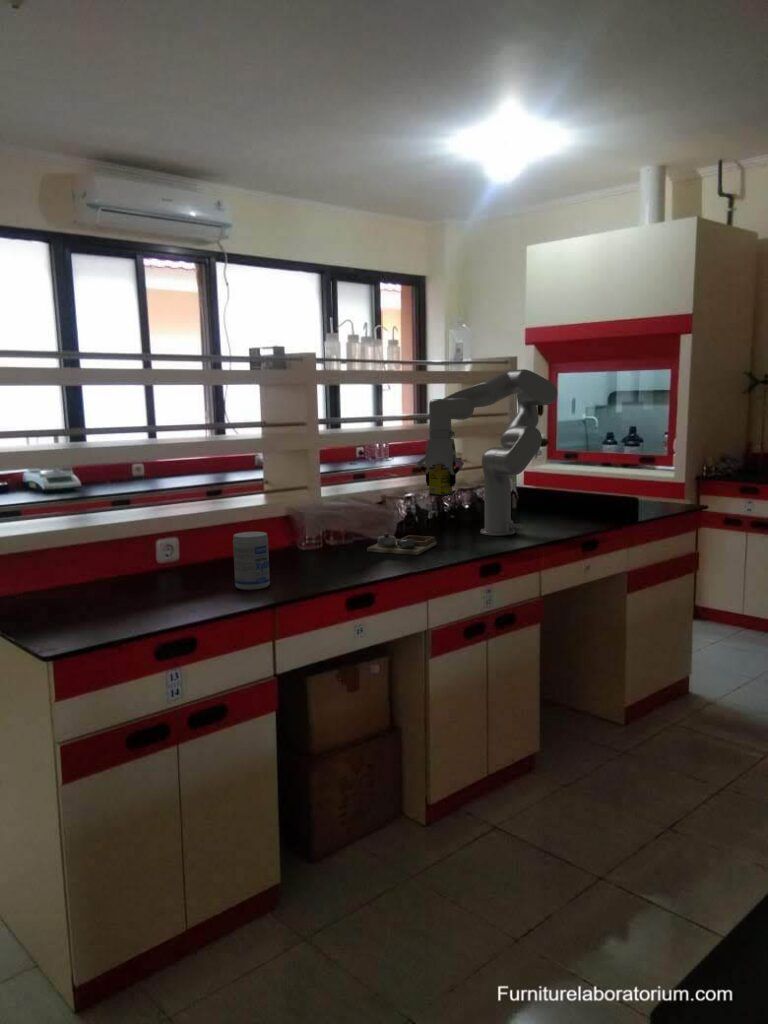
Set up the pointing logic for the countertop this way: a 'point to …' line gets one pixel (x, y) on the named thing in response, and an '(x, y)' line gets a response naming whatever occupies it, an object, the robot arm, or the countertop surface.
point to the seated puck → (406, 544)
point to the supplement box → (439, 481)
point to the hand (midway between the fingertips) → (440, 485)
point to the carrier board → (392, 544)
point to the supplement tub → (251, 560)
